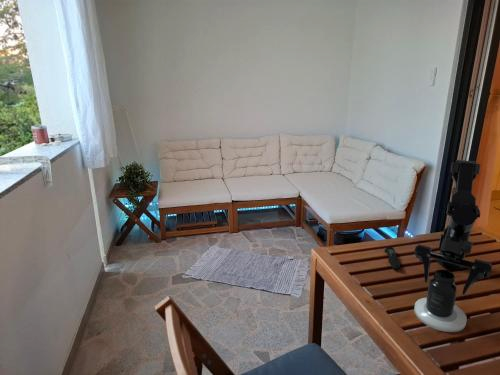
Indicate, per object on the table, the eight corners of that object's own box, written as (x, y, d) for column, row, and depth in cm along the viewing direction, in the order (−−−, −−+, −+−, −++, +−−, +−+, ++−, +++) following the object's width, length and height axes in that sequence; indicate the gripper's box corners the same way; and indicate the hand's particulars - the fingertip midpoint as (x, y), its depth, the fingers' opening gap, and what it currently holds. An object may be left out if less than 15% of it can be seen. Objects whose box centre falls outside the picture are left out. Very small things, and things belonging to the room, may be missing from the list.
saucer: (445, 299, 100) (446, 295, 100) (477, 329, 88) (478, 324, 87) (405, 303, 99) (406, 298, 99) (431, 334, 87) (432, 329, 86)
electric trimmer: (391, 272, 116) (392, 265, 115) (383, 251, 131) (384, 244, 130) (402, 273, 116) (403, 266, 115) (393, 252, 130) (394, 245, 129)
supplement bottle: (458, 316, 91) (465, 279, 87) (435, 319, 90) (442, 282, 86) (441, 301, 97) (447, 266, 94) (420, 304, 96) (425, 268, 93)
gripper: (419, 219, 95) (404, 268, 91) (498, 236, 84) (486, 293, 79) (423, 234, 103) (409, 279, 99) (495, 251, 92) (483, 303, 87)
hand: (443, 288), depth 91 cm, fingers open, 9 cm apart
